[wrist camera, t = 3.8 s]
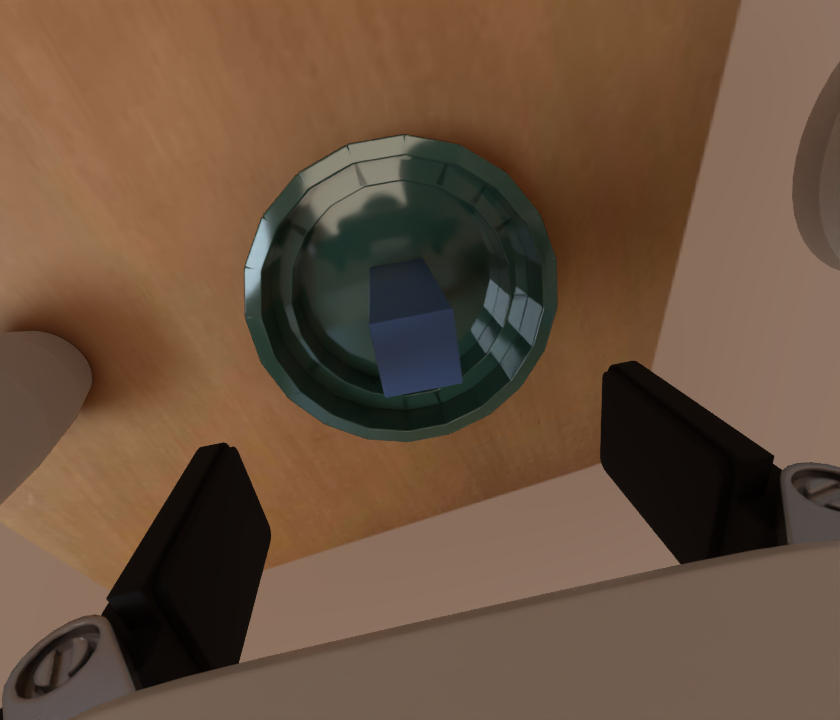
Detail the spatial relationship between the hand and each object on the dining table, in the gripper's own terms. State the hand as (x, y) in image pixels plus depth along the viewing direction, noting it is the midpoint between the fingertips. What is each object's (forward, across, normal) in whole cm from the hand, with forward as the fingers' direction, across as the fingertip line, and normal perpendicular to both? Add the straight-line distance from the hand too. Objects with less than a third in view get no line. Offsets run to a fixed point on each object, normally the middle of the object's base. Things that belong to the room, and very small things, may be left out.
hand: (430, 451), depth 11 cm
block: (+16, 0, 0) cm, 16 cm away
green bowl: (+16, 0, 0) cm, 16 cm away
